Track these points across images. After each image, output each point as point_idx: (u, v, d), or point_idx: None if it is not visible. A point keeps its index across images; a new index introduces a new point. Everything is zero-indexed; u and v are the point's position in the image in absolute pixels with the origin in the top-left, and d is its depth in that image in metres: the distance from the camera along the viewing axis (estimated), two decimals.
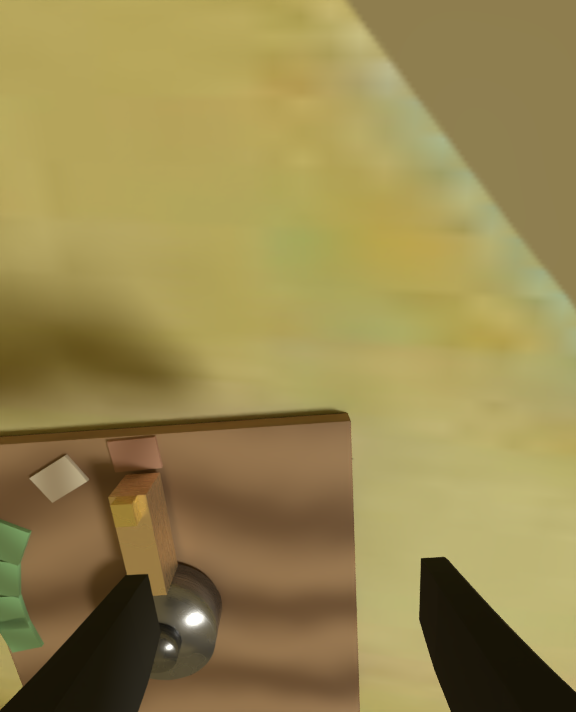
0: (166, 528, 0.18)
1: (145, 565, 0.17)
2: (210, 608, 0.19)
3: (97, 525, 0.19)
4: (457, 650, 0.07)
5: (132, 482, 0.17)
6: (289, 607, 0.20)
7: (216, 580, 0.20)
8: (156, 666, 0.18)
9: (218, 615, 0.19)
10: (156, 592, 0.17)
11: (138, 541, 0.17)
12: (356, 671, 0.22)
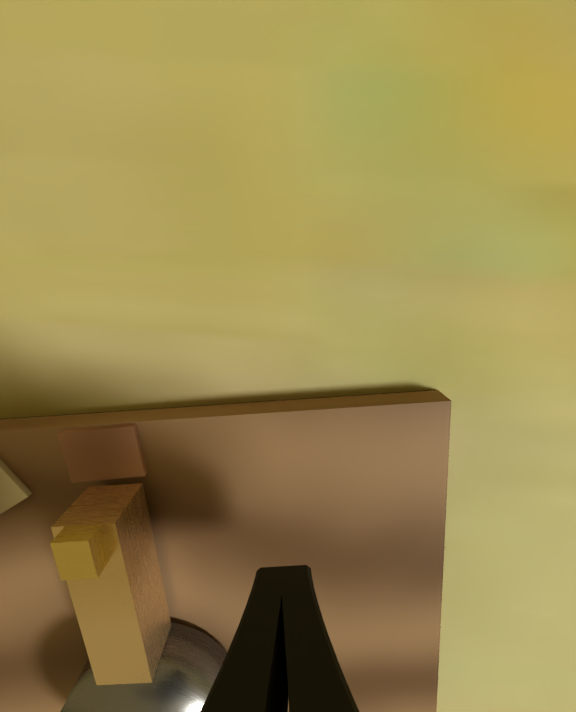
0: (152, 571, 0.11)
1: (117, 636, 0.10)
2: None
3: (47, 563, 0.12)
4: None
5: (96, 500, 0.10)
6: None
7: (229, 645, 0.13)
8: None
9: None
10: (136, 679, 0.11)
11: (104, 599, 0.10)
12: None
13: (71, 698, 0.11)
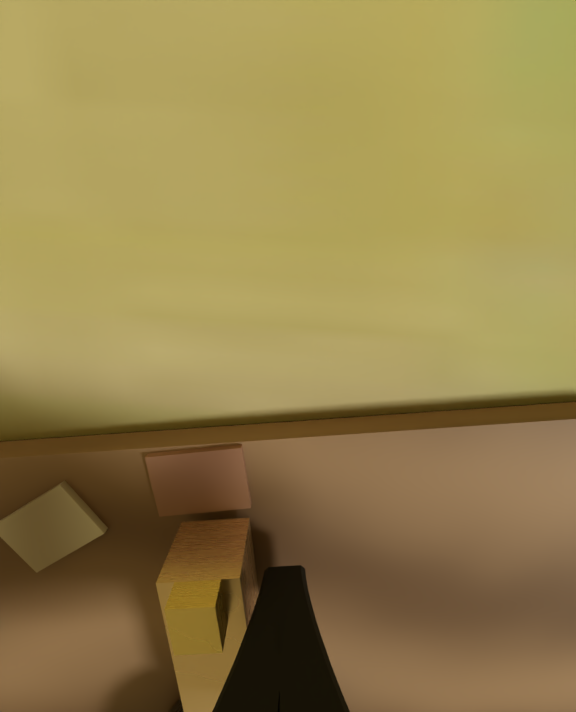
0: None
1: None
2: None
3: (121, 611, 0.10)
4: None
5: (200, 542, 0.08)
6: None
7: None
8: None
9: None
10: None
11: (216, 670, 0.08)
12: None
13: None
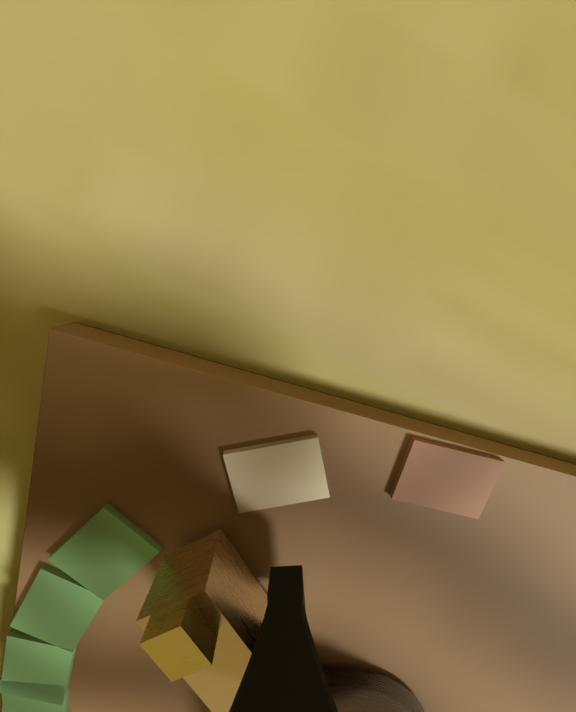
0: None
1: None
2: None
3: None
4: None
5: (176, 568, 0.08)
6: None
7: None
8: None
9: None
10: None
11: (232, 681, 0.08)
12: None
13: None
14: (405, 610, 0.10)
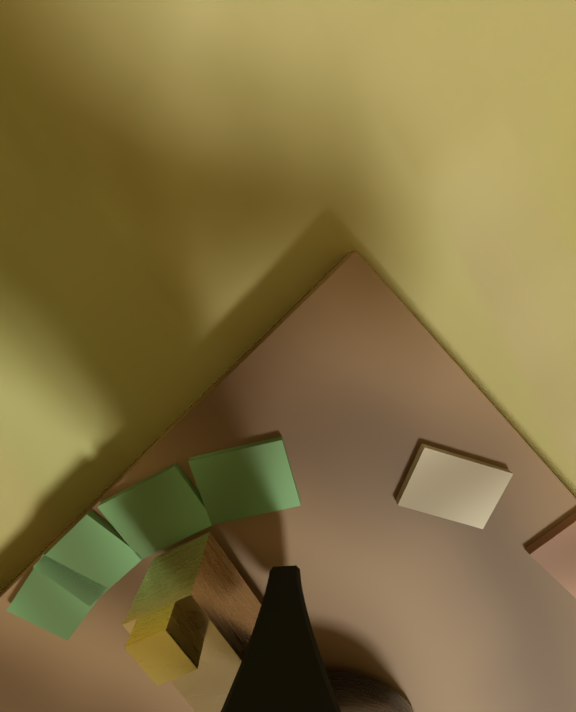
0: None
1: None
2: None
3: (392, 579, 0.10)
4: None
5: (165, 571, 0.08)
6: None
7: None
8: None
9: None
10: None
11: (219, 685, 0.08)
12: None
13: None
14: (461, 652, 0.11)
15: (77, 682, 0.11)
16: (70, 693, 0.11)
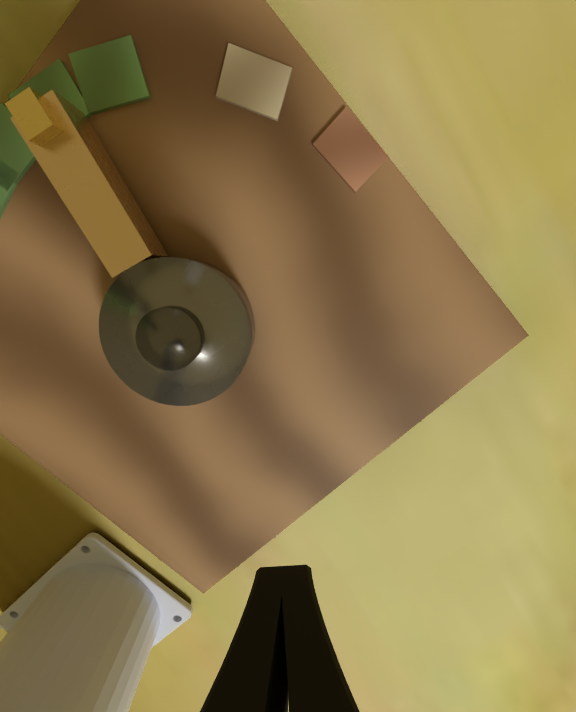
0: (123, 186, 0.13)
1: (104, 215, 0.12)
2: (223, 276, 0.14)
3: (222, 173, 0.14)
4: None
5: None
6: (280, 439, 0.17)
7: (253, 350, 0.16)
8: (178, 356, 0.13)
9: (242, 296, 0.14)
10: (138, 257, 0.13)
11: (78, 177, 0.12)
12: (255, 548, 0.19)
13: (102, 308, 0.13)
14: (279, 247, 0.15)
15: (3, 275, 0.15)
16: None
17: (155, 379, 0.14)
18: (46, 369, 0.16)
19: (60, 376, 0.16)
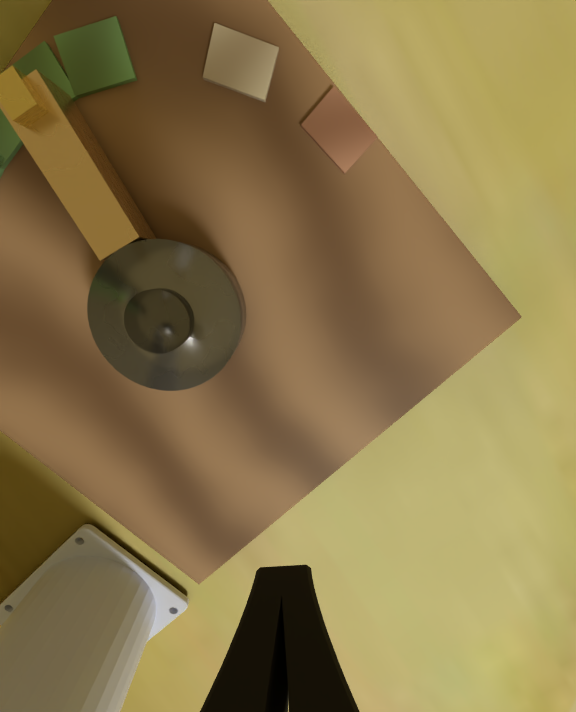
0: (110, 169, 0.13)
1: (91, 196, 0.12)
2: (212, 259, 0.13)
3: (210, 156, 0.14)
4: None
5: None
6: (273, 426, 0.17)
7: (244, 335, 0.16)
8: (167, 338, 0.13)
9: (232, 279, 0.14)
10: (126, 239, 0.13)
11: (64, 158, 0.12)
12: (251, 538, 0.19)
13: (91, 292, 0.13)
14: (270, 230, 0.15)
15: None
16: None
17: (145, 364, 0.14)
18: (37, 357, 0.16)
19: (51, 364, 0.16)
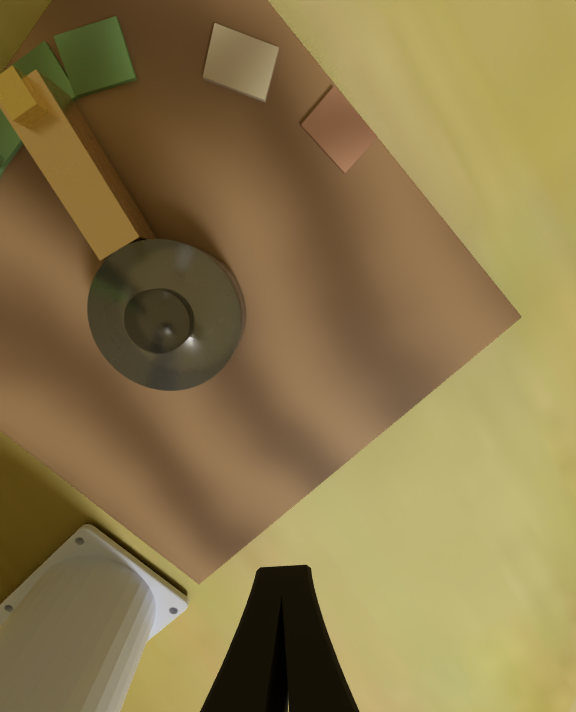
0: (110, 169, 0.13)
1: (91, 196, 0.12)
2: (212, 259, 0.13)
3: (210, 156, 0.14)
4: None
5: None
6: (273, 426, 0.17)
7: (244, 335, 0.16)
8: (167, 338, 0.13)
9: (232, 279, 0.14)
10: (126, 239, 0.13)
11: (64, 158, 0.12)
12: (251, 538, 0.19)
13: (91, 292, 0.13)
14: (270, 230, 0.15)
15: None
16: None
17: (145, 364, 0.14)
18: (37, 357, 0.16)
19: (51, 364, 0.16)
